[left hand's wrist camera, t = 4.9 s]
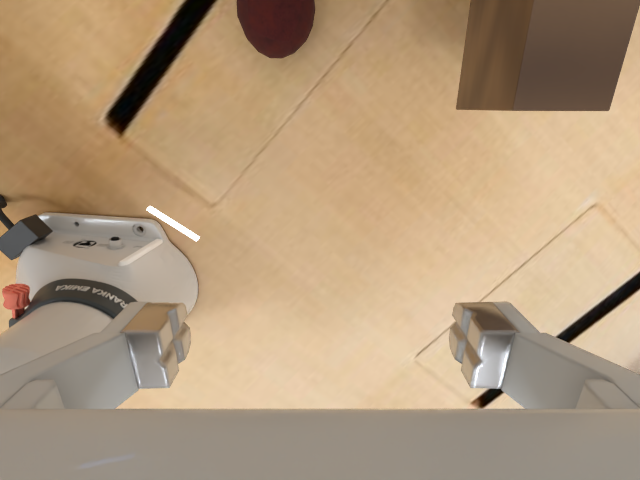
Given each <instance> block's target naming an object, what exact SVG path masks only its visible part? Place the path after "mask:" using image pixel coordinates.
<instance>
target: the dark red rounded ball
mask: <svg viewBox="0 0 640 480" xmlns="http://www.w3.org/2000/svg"><path fill="white" fill-rule="evenodd" d="M314 14H315V2H314V0H237V16H238V18H239V21H240V23H241V26H242V28H243V30H244V33H245V35H246V38H247V39H248V41H249V42H250V43H251V44H252V45H253V46H254V47H255V48H256V49H257V51H258V52H260V53H262V54H264V55H266V56H267V57H269V58H284V57H286V56H288V55H290V54H293V53H295V52H296V51H297V50H298V49H299V48H300V47H301V46H302V45H303V43H304V42H305V41H306V40H307V38H308V36H309V33H310V31H311V28H312V26H313V20H314Z"/></svg>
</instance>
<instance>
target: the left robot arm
mask: <svg viewBox="0 0 640 480" xmlns="http://www.w3.org/2000/svg"><path fill="white" fill-rule="evenodd" d="M6 206H7V203H6V201H5V199H4V198H3V197H2V196H1V195H0V221H1V222H2V223H3V224H4V225H5V226H6V227H7V228H8V231H7V232H6V233H5V234H4V235H2V236H1V237H0V251H2V252H3V253H4V254H5V255H6V256H7V257H8V258H9V259H11V260H13V259H15V258H17V257H19V256H20V258H19V261H18V264H17V270H16V284H11V285H9V286H6V287H5V288H3V291H2V293H3V297H4V299H5V301H4V304H3V305H4V307H5V308H7V309H11V310H12V315H13V318H11V319H10V320H9V329H7V330H6V331H4V332H3V333H1V334H0V480H640V375H639V374H637V373H635V372H632V371H630V370H628V369H626V368H623V367H621V366H619V365H617V364H614V363H612V362H610V361H608V360H605V359H603V358H601V357H599V356H596V355H594V354H592V353H590V352H587V351H585V350H583V349H581V348H578V347H576V346H574V345H572V344H569V343H567V342H565V341H563V340H560V339H558V338H556V337H554V336H552V335H549V334H547V333H540V332H539V331H538V330H537V329H536V328H535V327H534V326H533V325H532V324H531V323H530V322H529V321H528V320H527V319H526V318H525V317H524V316H523V315H522V314H521V313H520V312H519V311H518V310H517V309H516V308H515V307H514V306H513V305H512V304H511V303H509V302H506V301H505V302H473V303H456V304H455V306H454V308H453V314H452V316H453V317H454V319H455V320H456V322H455V324H454V325H453V326H452V327H451V328H450V334H449V342H450V349H451V352H452V354H453V356H454V358H455V360H457V361H458V362H460V363H461V364H462V367H461V371H462V373H463V375H464V377H465V379H466V380H467V382H468V384H469V386H470V388H497V389H502V391H503V392H505V393H506V394H507V395H509V396H510V397H511V398H512V399H514V400H515V401H516V402H517V403H519V404H520V405H521V406H523V407H524V408H525V409H115V408H116V407H118V406H119V405H120V404H121V403H123V402H124V401H125V400H127V399H128V398H129V397H130V396H132V395H133V394H134V393H135V392H137V391H138V389H143V388H170V386H171V384H172V382H173V380H174V379H175V377H176V375H177V373H178V371H179V367H178V364H179V363H180V362H182V361H183V360H185V358H186V356H187V354H188V352H189V348H190V344H191V333H190V328H189V327H188V326H187V325H186V324H185V322H184V320H185V319H186V317H187V316H188V314H189V313H190V312H191V310H192V309H193V307H194V305H195V303H196V300H197V296H198V281H197V277H196V274H195V271H194V269H193V267H192V265H191V264H190V262H189V261H188V259H187V258H186V257H185V256H184V254H183V253H182V252H181V251H179V250H178V249H177V248H176V247H175V246H174V245H173V244H172V243H171V242H170V241H169V240H168V238H167V236H166V234H165V232H164V230H163V228H162V227H161V225H160V224H159V223H158V222H157V221H155V220H153V219H144V218H129V217H114V216H98V215H83V214H68V213H52V212H46V213H42V214H41V215H39V216H37V215H33V216H30V217H28V218H25V219H22V220H20V221H19V222H18V223H16V224H15V225H14V224H13V223H12V222H11V221H10V220H9V219H8V218H7V216H6V215H5V214H4V213H3V211H2V209H1V208H5V207H6ZM147 211H149V212H151V213H152V214H154V215H155V216H157V217H159V218H160V219H162V220H163V221H165V222H167V223H168V224H170V225H171V226H173V227H175V228H176V229H178V230H179V231H181V232H183V233H184V234H186V235H187V236H189V237H191V238H192V239H194V240H195V241H197V240H198V239H199V238H200V237H199V236H197V235H196V234H194V233H193V232H191V231H190V230H188V229H186V228H185V227H183V226H182V225H180V224H178V223H177V222H175V221H174V220H172V219H170V218H169V217H167V216H166V215H164V214H163V213H161V212H159V211H158V210H156V209H155V208H153V207H151V206H150V207H148V208H147ZM139 226H141V227H142V228H143V231H142V230H140V228H139Z"/></svg>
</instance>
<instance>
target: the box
mask: <svg viewBox="0 0 640 480" xmlns="http://www.w3.org/2000/svg"><path fill="white" fill-rule="evenodd" d="M639 6H640V0H471V3H470V10H469V18H468V25H467V32H466V40H465V47H464V54H463V61H462V69H461V76H460V83H459V91H458V98H457V105H456V109H457V110H502V111H609V109H610V106H611V102H612V99H613V96H614V92H615V89H616V85H617V82H618V78H619V75H620V71H621V68H622V64H623V61H624V58H625V54H626V51H627V47H628V44H629V40H630V37H631V33H632V30H633V26H634V23H635V20H636V16H637V13H638V9H639Z"/></svg>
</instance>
